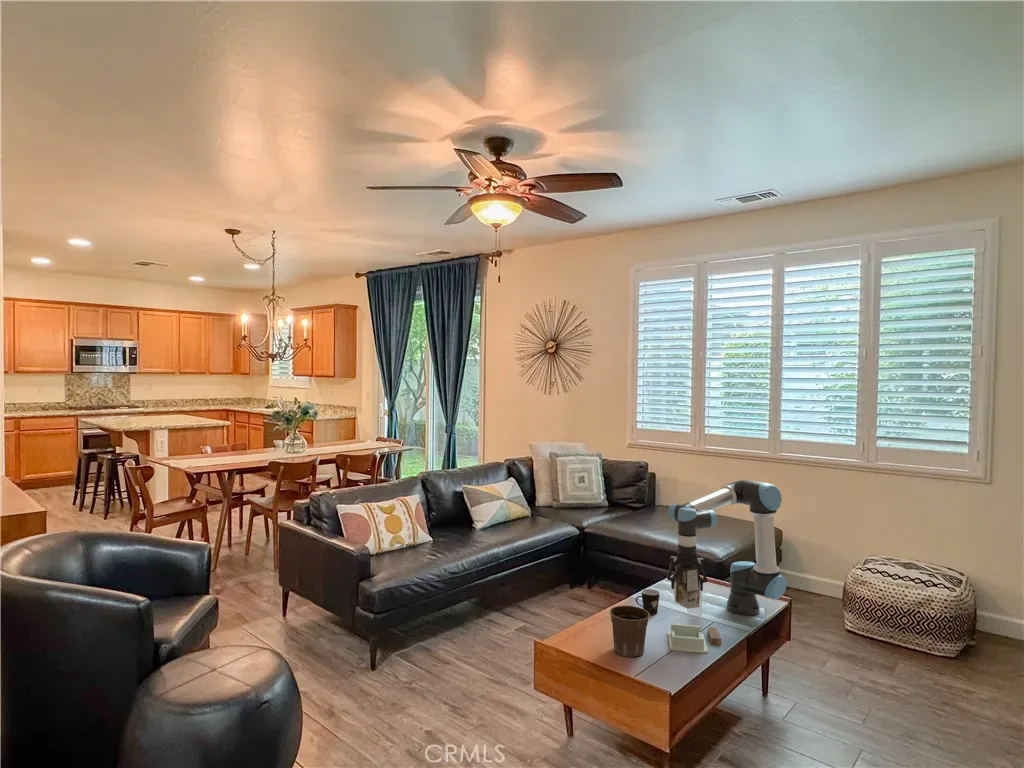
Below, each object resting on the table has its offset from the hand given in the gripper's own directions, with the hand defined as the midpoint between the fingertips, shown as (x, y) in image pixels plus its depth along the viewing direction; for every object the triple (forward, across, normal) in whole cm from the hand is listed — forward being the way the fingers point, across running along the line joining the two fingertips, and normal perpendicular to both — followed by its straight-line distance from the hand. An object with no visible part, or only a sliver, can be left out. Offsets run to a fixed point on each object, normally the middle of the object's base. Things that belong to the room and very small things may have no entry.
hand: (686, 597), depth 259 cm
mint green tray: (+20, 0, 0) cm, 20 cm away
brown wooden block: (+20, -12, -7) cm, 24 cm away
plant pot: (+20, +24, +13) cm, 34 cm away
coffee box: (+3, 0, 0) cm, 3 cm away
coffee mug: (+20, +16, -32) cm, 41 cm away
